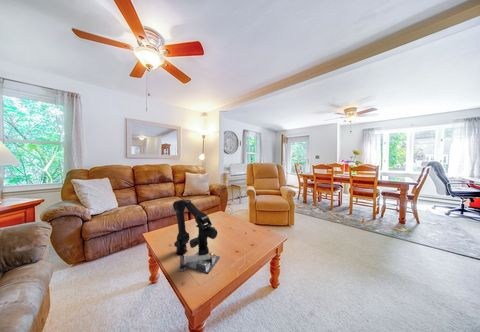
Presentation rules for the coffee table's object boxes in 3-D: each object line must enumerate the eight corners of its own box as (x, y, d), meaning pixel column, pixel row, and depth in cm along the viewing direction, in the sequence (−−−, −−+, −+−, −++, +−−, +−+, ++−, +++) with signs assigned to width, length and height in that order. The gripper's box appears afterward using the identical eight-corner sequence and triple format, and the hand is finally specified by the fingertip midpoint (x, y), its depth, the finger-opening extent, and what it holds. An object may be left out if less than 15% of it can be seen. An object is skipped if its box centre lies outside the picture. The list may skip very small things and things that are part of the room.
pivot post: (176, 270, 98) (176, 257, 97) (181, 265, 102) (181, 253, 102) (182, 272, 96) (182, 259, 95) (187, 267, 101) (187, 254, 100)
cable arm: (185, 263, 98) (185, 258, 98) (185, 260, 100) (185, 255, 100) (213, 259, 102) (213, 254, 102) (212, 256, 105) (212, 252, 105)
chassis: (184, 266, 101) (184, 262, 101) (198, 252, 116) (198, 248, 116) (208, 273, 95) (208, 268, 95) (220, 257, 110) (220, 253, 110)
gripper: (190, 229, 110) (190, 250, 111) (189, 243, 92) (190, 268, 93) (206, 227, 113) (206, 247, 114) (208, 241, 95) (209, 265, 97)
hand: (203, 256), depth 105 cm, fingers closed
